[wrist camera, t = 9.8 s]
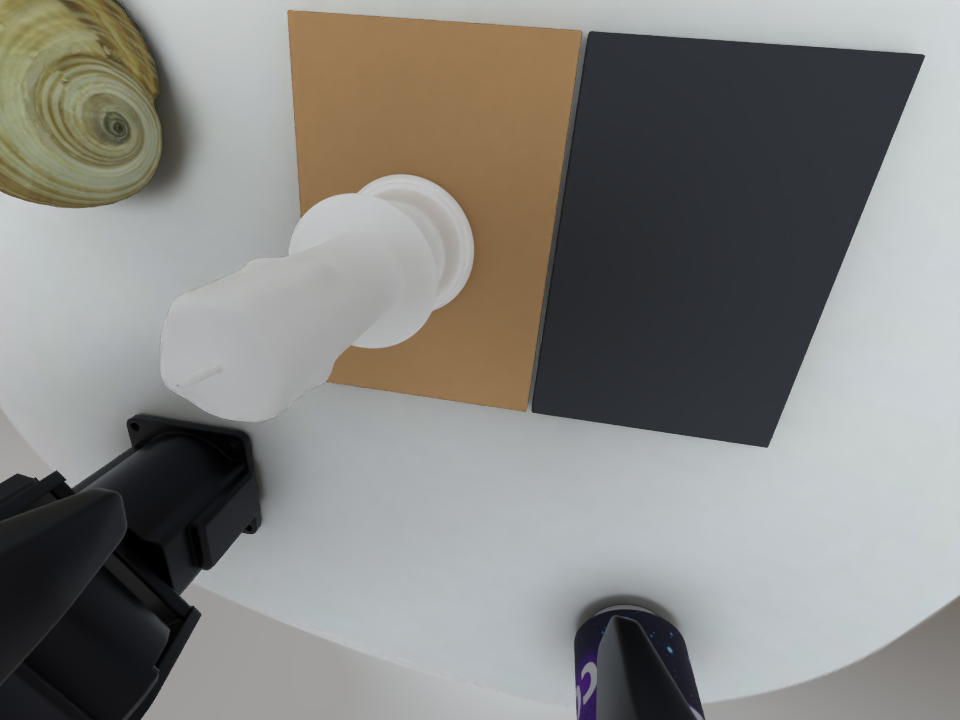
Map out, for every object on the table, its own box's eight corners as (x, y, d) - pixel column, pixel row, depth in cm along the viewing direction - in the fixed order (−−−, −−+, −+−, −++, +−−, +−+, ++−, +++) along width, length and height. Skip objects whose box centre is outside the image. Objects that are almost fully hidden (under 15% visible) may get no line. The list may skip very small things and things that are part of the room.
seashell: (91, 92, 23) (-42, 213, 19) (-77, -105, 16) (-315, 23, 13) (258, 119, 20) (139, 261, 17) (136, -101, 14) (-90, 57, 11)
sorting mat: (317, 374, 22) (311, 380, 22) (295, 14, 17) (286, 9, 16) (762, 440, 20) (768, 448, 20) (913, 58, 15) (927, 53, 14)
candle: (374, 327, 20) (160, 530, 9) (319, 201, 18) (-24, 271, 8) (492, 292, 19) (405, 482, 8) (446, 152, 17) (251, 152, 6)
